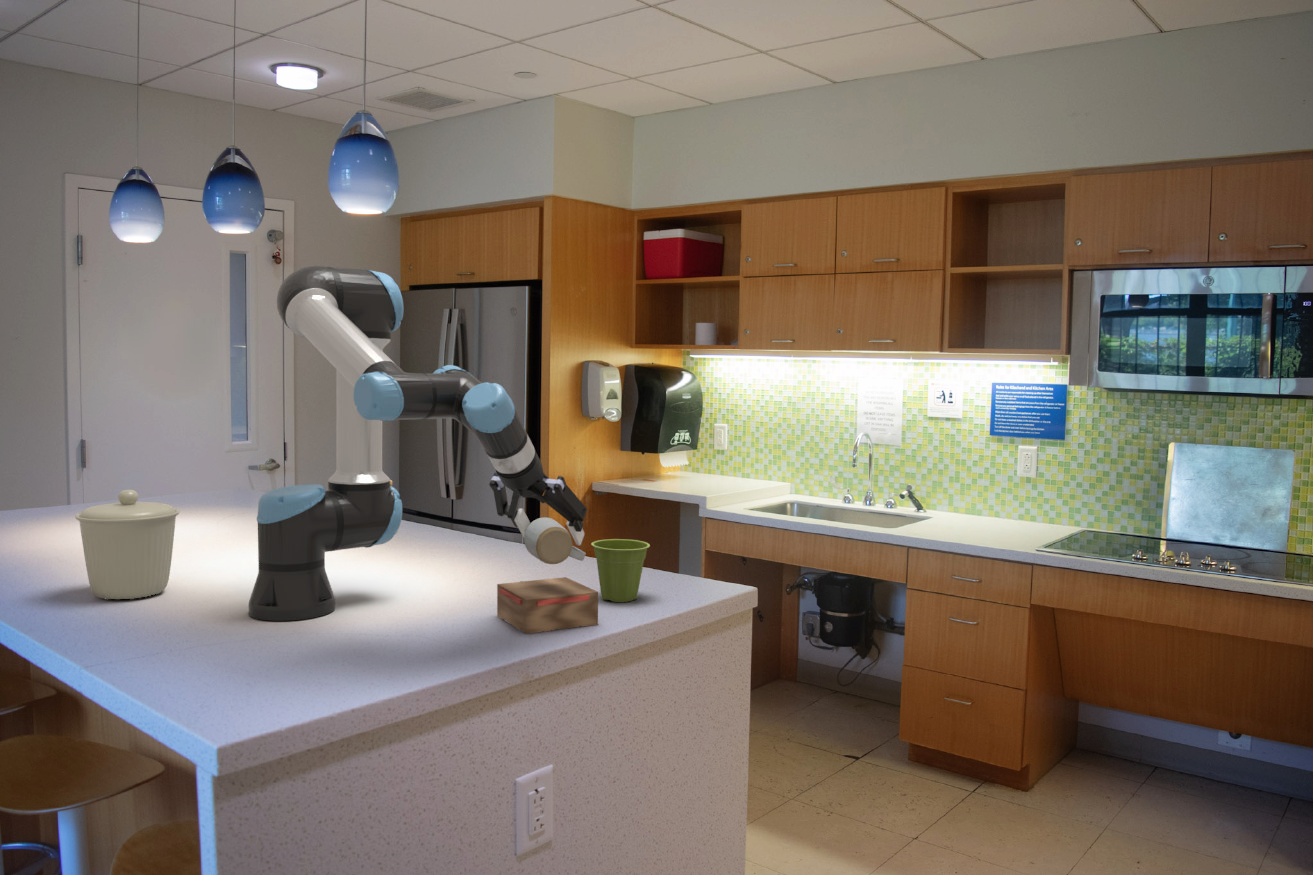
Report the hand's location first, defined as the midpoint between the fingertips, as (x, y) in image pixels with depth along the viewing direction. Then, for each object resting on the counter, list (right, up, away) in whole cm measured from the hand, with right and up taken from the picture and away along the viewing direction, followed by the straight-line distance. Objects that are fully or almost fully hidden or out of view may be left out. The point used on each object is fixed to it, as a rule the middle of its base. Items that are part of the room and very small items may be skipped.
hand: (555, 537), depth 180 cm
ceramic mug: (0, -4, -2) cm, 5 cm away
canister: (-86, -13, +13) cm, 88 cm away
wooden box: (-1, -15, -2) cm, 15 cm away
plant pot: (+11, -14, +16) cm, 24 cm away
